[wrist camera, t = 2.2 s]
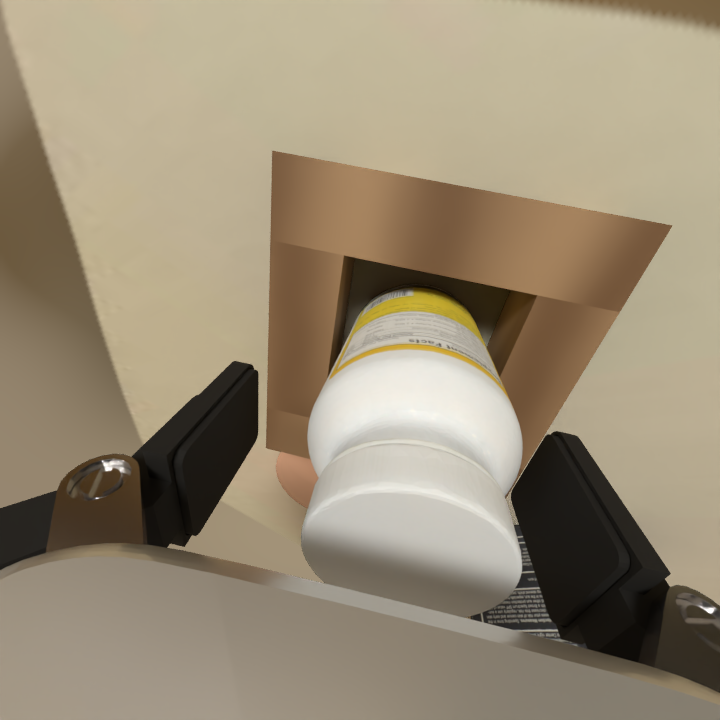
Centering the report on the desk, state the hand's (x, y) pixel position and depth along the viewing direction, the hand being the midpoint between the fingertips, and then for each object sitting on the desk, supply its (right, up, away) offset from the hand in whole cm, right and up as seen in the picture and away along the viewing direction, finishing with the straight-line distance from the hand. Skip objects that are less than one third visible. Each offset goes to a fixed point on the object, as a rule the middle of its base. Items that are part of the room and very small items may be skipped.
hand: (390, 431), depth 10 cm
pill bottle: (+2, +3, +7) cm, 8 cm away
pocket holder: (+2, +3, +6) cm, 8 cm away
